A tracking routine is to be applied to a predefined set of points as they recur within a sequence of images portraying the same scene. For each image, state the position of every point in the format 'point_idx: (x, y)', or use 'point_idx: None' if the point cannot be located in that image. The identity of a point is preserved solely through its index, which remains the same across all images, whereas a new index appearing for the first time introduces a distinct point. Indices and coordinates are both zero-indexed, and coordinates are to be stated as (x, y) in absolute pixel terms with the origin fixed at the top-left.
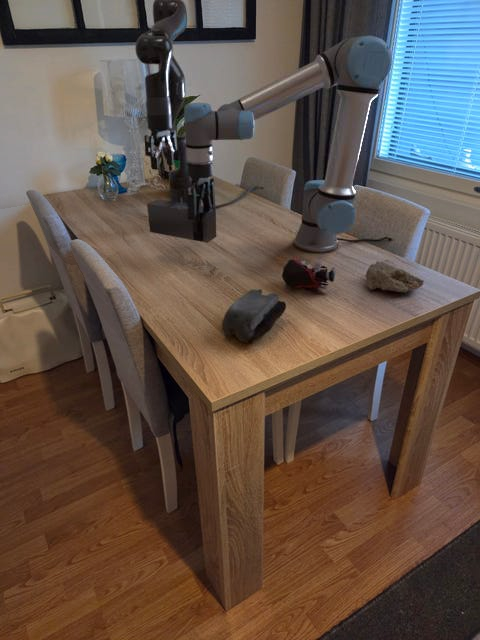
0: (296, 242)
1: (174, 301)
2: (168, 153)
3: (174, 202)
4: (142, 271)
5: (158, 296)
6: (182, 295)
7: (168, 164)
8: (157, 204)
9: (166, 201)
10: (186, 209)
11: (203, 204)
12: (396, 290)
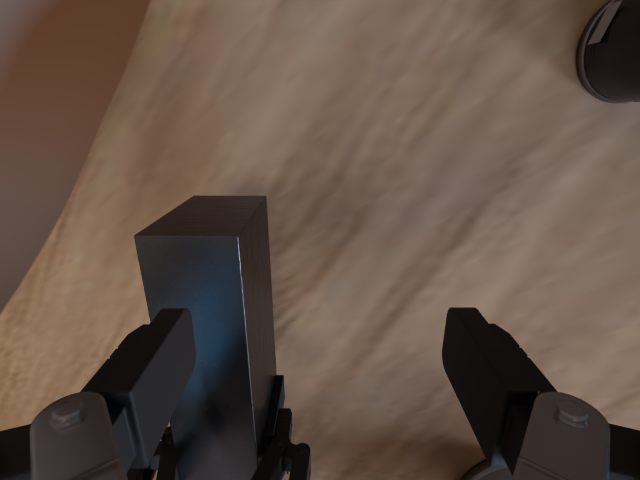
0: (485, 472)
1: (74, 351)
2: (498, 424)
3: (234, 345)
4: (141, 197)
5: (67, 311)
6: (106, 352)
7: (448, 323)
8: (157, 292)
9: (226, 303)
10: (179, 432)
11: (255, 473)
12: None
